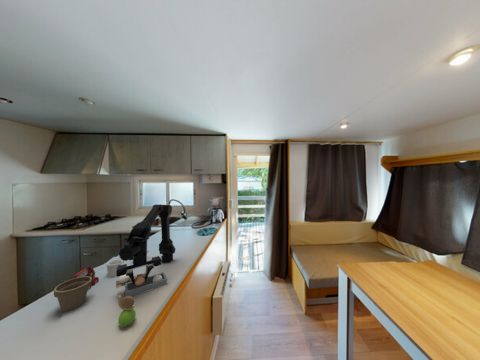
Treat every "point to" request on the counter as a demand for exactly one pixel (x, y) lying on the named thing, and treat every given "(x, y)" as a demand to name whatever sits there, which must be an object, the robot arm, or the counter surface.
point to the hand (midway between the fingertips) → (139, 282)
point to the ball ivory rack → (123, 278)
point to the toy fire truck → (90, 273)
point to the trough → (146, 287)
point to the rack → (119, 284)
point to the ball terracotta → (139, 280)
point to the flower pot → (72, 292)
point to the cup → (113, 266)
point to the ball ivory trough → (157, 278)
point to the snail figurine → (126, 310)
